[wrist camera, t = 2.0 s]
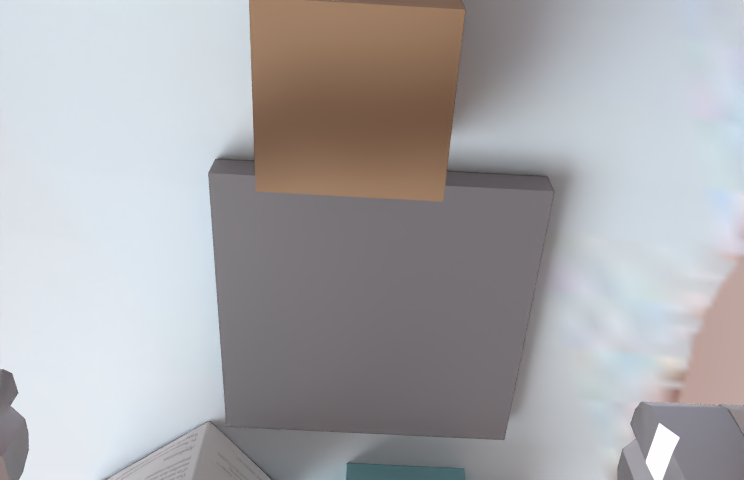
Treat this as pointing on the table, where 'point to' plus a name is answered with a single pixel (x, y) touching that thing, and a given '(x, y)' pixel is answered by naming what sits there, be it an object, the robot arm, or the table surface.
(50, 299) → the table surface
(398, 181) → the walnut brick
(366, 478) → the teal block
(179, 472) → the skincare box
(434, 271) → the baseplate
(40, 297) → the table surface
